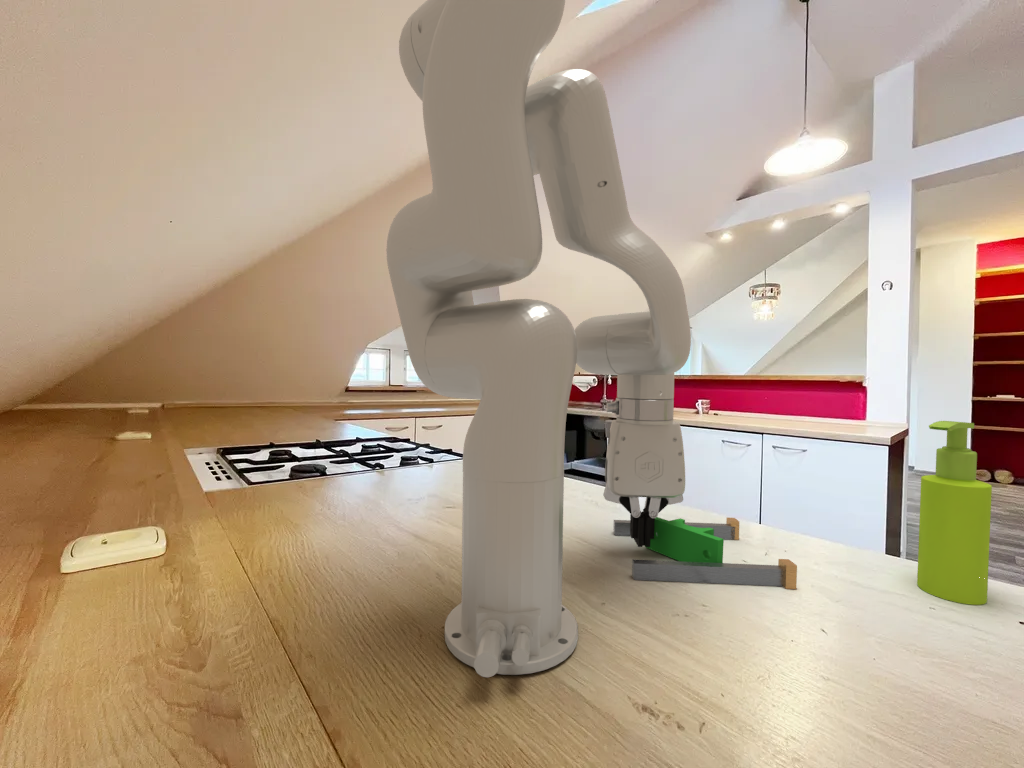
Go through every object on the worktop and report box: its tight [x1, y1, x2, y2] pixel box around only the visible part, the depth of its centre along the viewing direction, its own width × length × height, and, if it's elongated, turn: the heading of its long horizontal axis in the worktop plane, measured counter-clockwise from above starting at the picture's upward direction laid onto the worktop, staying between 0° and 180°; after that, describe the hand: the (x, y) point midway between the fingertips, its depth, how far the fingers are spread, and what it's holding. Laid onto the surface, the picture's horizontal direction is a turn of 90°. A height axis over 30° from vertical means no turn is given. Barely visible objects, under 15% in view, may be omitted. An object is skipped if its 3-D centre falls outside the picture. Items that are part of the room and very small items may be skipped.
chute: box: [613, 517, 798, 590], centre depth 63 cm, size 18×19×3 cm
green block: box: [644, 516, 725, 563], centre depth 62 cm, size 11×4×5 cm, turn 33°
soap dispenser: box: [916, 420, 993, 606], centre depth 53 cm, size 6×7×20 cm
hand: (641, 543), depth 64 cm, fingers closed
